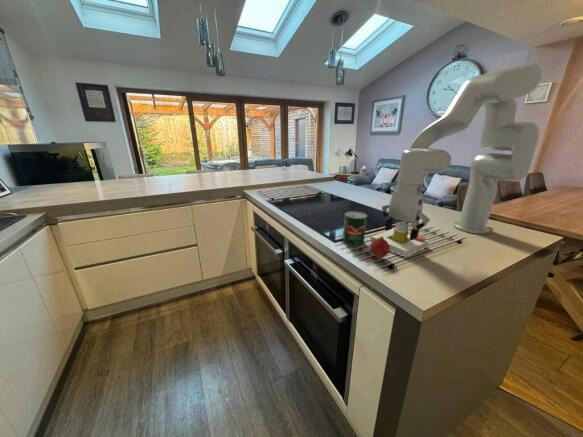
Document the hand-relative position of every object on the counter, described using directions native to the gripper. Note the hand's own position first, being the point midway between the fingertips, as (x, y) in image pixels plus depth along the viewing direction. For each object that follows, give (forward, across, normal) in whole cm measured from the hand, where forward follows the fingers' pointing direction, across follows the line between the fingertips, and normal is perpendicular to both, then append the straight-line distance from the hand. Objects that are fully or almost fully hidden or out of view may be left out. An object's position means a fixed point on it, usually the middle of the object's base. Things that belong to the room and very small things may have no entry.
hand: (400, 234), depth 85 cm
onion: (+4, -2, +14) cm, 15 cm away
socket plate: (+4, 0, 0) cm, 4 cm away
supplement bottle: (+4, 0, 0) cm, 5 cm away
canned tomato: (+4, +11, +12) cm, 17 cm away
